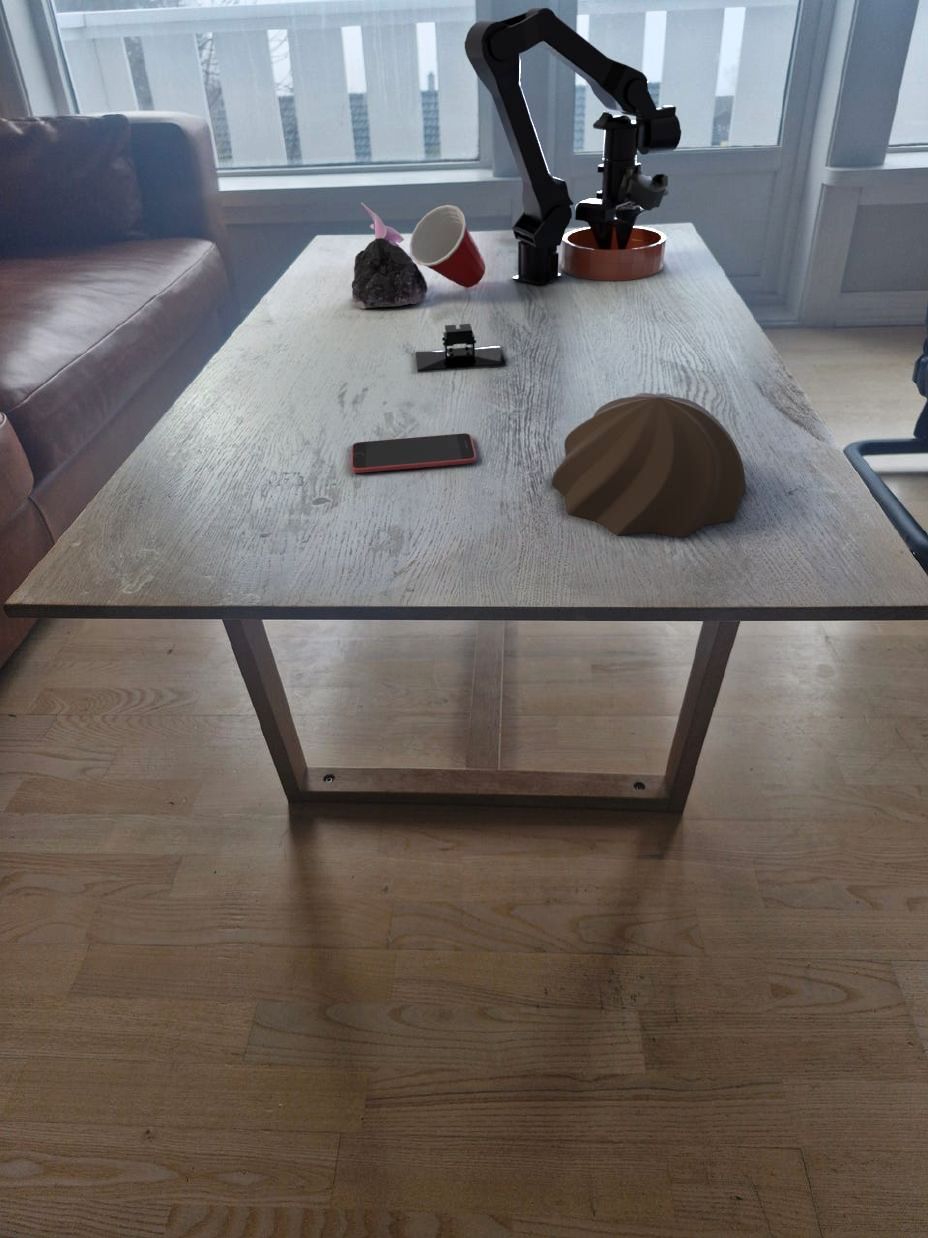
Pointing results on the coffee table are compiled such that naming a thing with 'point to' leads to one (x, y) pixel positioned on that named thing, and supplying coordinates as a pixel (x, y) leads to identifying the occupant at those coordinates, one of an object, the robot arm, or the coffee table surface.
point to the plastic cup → (447, 246)
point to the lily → (384, 229)
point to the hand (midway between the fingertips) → (613, 254)
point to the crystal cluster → (386, 277)
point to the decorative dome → (651, 467)
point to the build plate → (459, 353)
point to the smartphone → (412, 453)
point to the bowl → (613, 255)
